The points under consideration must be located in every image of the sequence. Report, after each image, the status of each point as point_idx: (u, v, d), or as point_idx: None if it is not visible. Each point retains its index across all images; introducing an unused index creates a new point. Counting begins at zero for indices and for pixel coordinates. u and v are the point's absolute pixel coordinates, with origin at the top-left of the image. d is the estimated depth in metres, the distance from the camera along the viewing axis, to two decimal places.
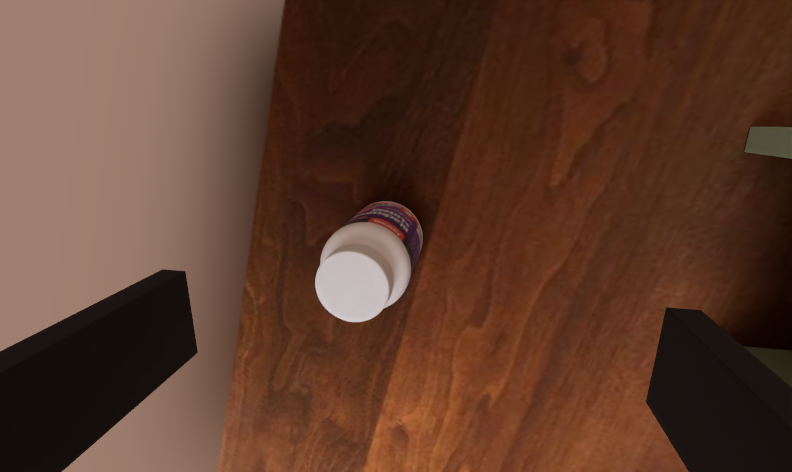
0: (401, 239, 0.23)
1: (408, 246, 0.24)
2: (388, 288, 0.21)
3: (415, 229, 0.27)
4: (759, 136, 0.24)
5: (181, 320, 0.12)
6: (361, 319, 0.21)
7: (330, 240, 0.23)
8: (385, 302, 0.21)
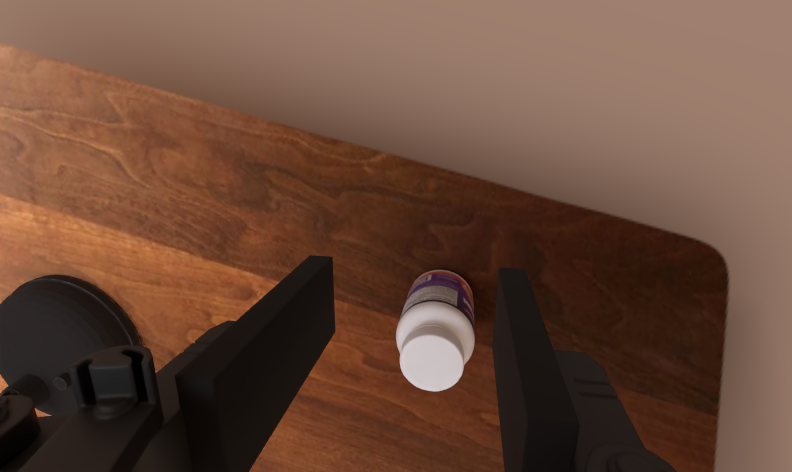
0: None
1: None
2: (431, 390, 0.26)
3: None
4: None
5: (329, 301, 0.13)
6: (403, 368, 0.26)
7: (460, 319, 0.27)
8: (419, 387, 0.26)
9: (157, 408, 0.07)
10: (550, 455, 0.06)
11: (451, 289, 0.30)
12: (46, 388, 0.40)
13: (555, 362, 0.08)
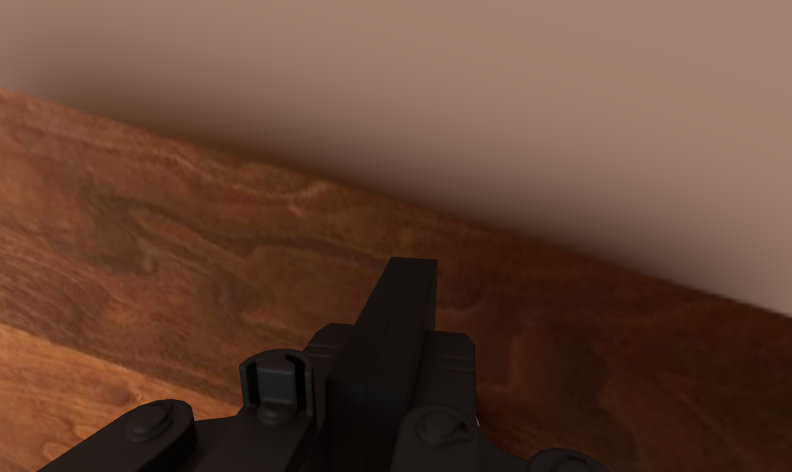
0: None
1: None
2: None
3: None
4: None
5: None
6: None
7: None
8: None
9: (314, 419, 0.07)
10: (387, 417, 0.07)
11: None
12: None
13: (417, 339, 0.08)
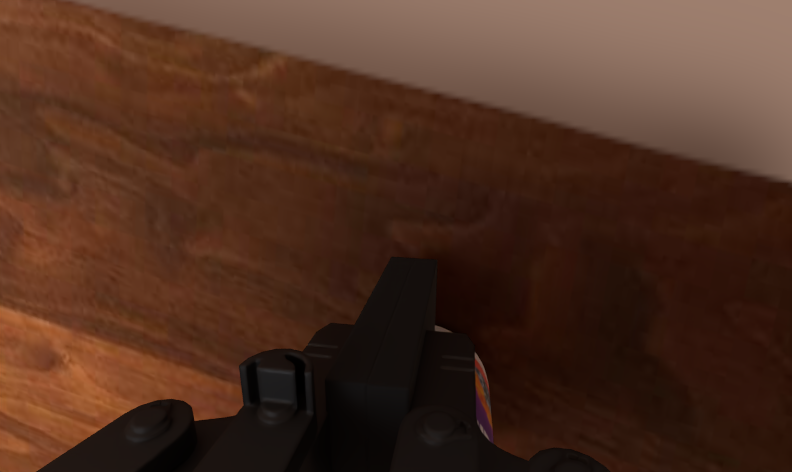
0: None
1: None
2: None
3: None
4: None
5: None
6: None
7: None
8: None
9: (314, 419, 0.07)
10: (388, 417, 0.07)
11: None
12: None
13: (417, 338, 0.08)
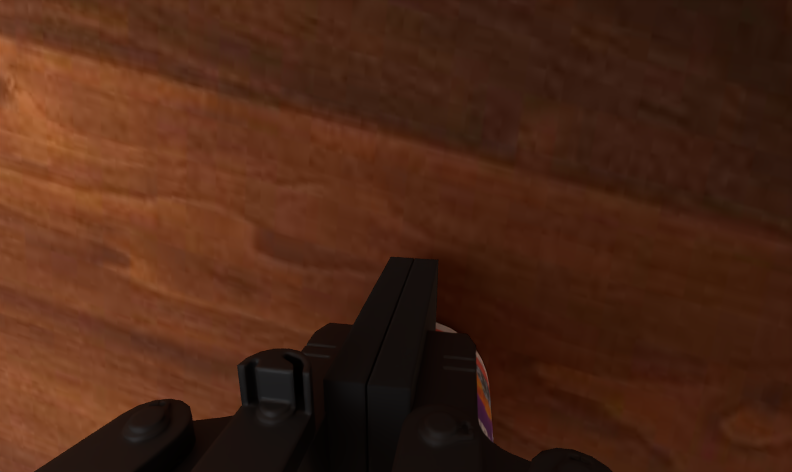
0: None
1: None
2: None
3: None
4: None
5: None
6: None
7: None
8: None
9: (312, 419, 0.07)
10: (389, 418, 0.07)
11: None
12: None
13: (419, 339, 0.08)
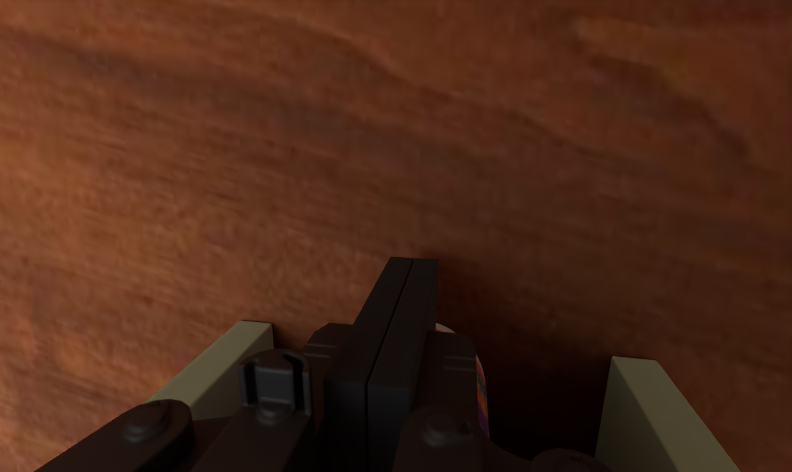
0: None
1: None
2: None
3: None
4: (653, 376, 0.13)
5: None
6: None
7: None
8: None
9: (312, 419, 0.07)
10: (389, 418, 0.07)
11: None
12: None
13: (419, 339, 0.08)
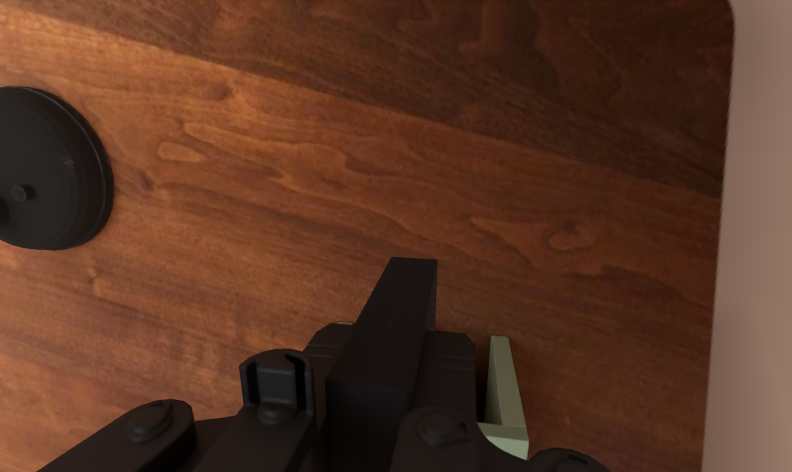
0: None
1: None
2: None
3: None
4: (503, 342, 0.36)
5: None
6: None
7: None
8: None
9: (314, 419, 0.07)
10: (387, 418, 0.07)
11: None
12: (5, 206, 0.37)
13: (417, 339, 0.08)
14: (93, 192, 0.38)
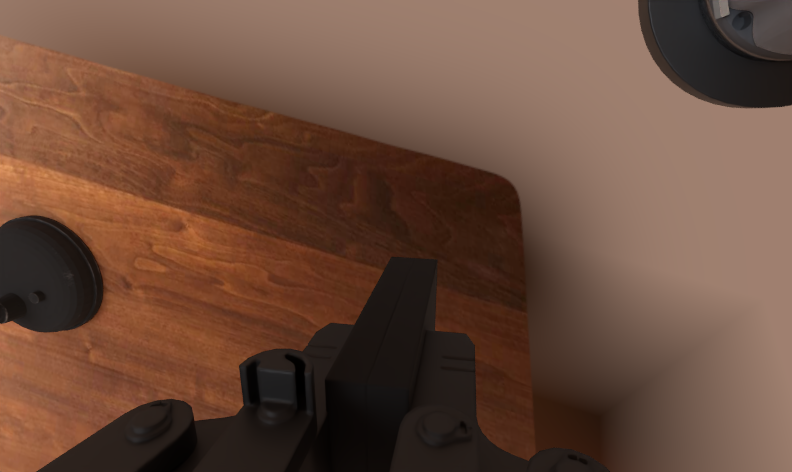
0: None
1: None
2: None
3: None
4: None
5: None
6: None
7: None
8: None
9: (314, 419, 0.07)
10: (387, 417, 0.07)
11: None
12: (23, 304, 0.51)
13: (417, 339, 0.08)
14: (88, 293, 0.51)
